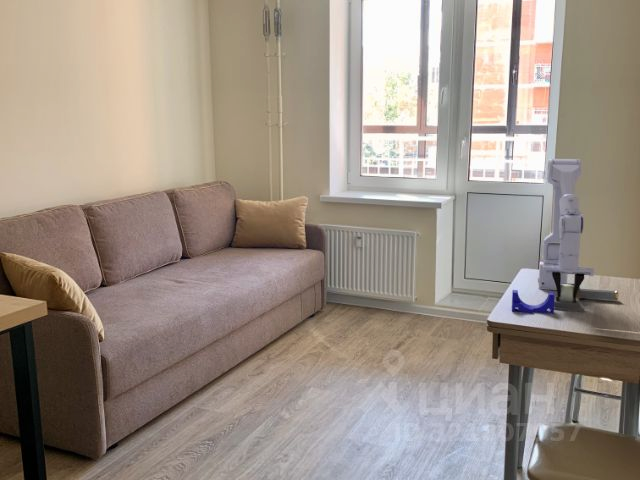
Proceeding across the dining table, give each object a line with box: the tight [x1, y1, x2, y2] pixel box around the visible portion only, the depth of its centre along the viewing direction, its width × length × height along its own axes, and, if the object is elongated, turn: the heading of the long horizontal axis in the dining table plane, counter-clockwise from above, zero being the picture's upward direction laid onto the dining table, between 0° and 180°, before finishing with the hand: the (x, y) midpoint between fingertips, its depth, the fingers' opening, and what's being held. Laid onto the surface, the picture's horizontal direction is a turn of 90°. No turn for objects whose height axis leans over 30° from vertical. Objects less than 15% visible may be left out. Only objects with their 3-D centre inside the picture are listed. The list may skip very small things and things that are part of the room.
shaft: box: [580, 288, 619, 301], centre depth 214 cm, size 14×3×3 cm, turn 74°
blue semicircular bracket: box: [511, 289, 556, 315], centre depth 202 cm, size 12×4×6 cm, turn 75°
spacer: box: [559, 283, 574, 303], centre depth 207 cm, size 4×4×5 cm
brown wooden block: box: [562, 282, 581, 301], centre depth 216 cm, size 5×6×4 cm
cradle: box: [554, 295, 585, 313], centre depth 208 cm, size 10×10×2 cm
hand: (566, 296), depth 207 cm, fingers closed on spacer, 4 cm apart
